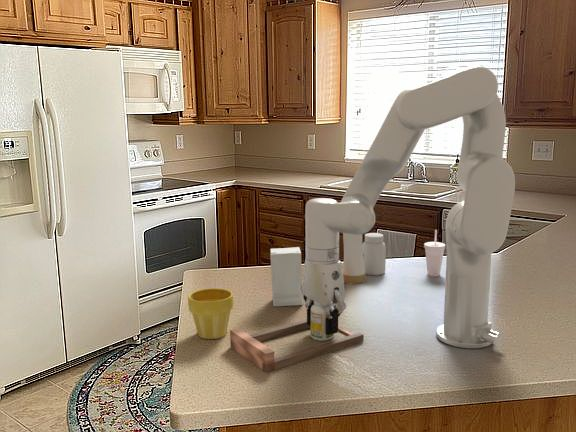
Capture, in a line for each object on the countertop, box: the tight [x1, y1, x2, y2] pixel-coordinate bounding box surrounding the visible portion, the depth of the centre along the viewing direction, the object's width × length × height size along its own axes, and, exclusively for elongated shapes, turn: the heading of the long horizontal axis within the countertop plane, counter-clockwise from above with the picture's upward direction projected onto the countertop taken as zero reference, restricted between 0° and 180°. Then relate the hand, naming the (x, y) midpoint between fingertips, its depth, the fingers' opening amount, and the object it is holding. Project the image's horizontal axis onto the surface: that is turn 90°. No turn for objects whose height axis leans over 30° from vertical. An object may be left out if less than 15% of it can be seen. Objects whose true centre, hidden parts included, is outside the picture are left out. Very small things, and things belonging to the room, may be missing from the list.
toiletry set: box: [339, 232, 387, 284], centre depth 173 cm, size 25×8×21 cm, turn 136°
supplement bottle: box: [310, 301, 334, 342], centre depth 132 cm, size 5×5×10 cm
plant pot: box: [187, 287, 234, 340], centre depth 135 cm, size 10×10×10 cm
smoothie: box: [423, 229, 446, 277], centre depth 177 cm, size 6×6×14 cm
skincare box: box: [270, 246, 304, 307], centre depth 154 cm, size 8×6×15 cm
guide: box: [229, 318, 365, 373], centre depth 129 cm, size 15×26×4 cm, turn 124°
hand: (322, 327), depth 133 cm, fingers open, 6 cm apart
